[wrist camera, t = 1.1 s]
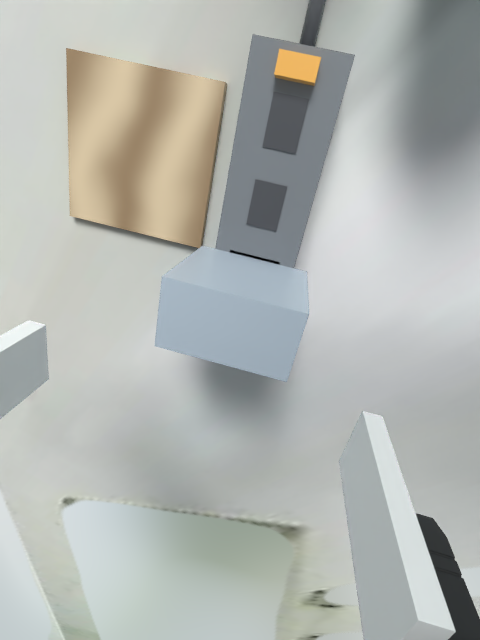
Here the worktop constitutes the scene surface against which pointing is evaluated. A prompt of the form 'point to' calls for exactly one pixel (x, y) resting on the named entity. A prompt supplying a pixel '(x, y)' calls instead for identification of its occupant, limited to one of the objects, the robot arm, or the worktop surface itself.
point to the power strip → (281, 142)
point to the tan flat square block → (141, 146)
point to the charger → (234, 311)
